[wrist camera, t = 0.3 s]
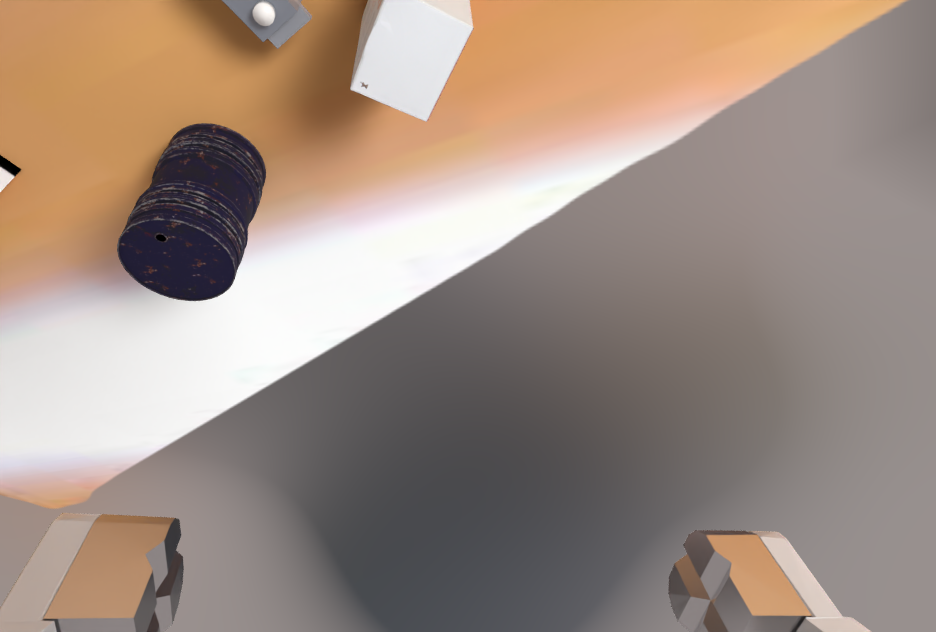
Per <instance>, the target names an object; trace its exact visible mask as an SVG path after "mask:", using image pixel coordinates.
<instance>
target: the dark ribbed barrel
mask: <svg viewBox="0 0 936 632" xmlns="http://www.w3.org/2000/svg"><path fill="white" fill-rule="evenodd" d="M265 178H266V169H265V164H264V161H263V159H262V157H261V155H260V153H259V152H258V150H257V149H256V148H255V146H254V145H253V144H252V143H251V142H250V141H249V140H247V139H246V138H245V137H243V136H242V135H240V134H239V133H237V132H236V131H233V130H231V129H229V128H226V127H223V126H220V125H215V124H206V123H202V124H194V125H190V126H187V127H185V128H183V129H181V130H180V131H178V132H177V133H176V134H175V135H174V136H173V138H172V140H171V142H170V143H169V146H168V147H167V148H166V149H165V151H164V152H163V154H162V156H161V158H160V159H159V161H158V164H157V166H156V168H155V171H154V174H153V177H152V184H151V185H150V187H149V188H148V189H147V190H146V191H145V192H144V193H143V194H142V195H141V196H140V197H139V199H138V201H137V202H136V205H135V207H134V209H133V211H132V212H131V214H130V216H129V218H128V221H127V225H126V227H125V229H124V231H123V232H122V234H121V236H120V238H119V241H118V244H117V252H118V256H119V259H120V261H121V264H122V265H123V267H124V268H125V270H126V271H127V272H128V273H129V274H130V275H131V277H133V278H134V279H135V280H136V281H137V282H139V283H140V284H141V285H143V286H144V287H146V288H148V289H150V290H151V291H153V292H156V293H158V294H160V295H163V296H166V297H169V298H174V299H178V300H185V301H202V300H208V299H212V298H215V297H218V296H220V295H221V294H223V293H225V292H226V291H227V290H228V289H229V288H230V287H231V285H232V284H233V282H234V279H235V276H236V272H237V269H238V267H239V265H240V263H241V261H242V257H243V254H244V250H245V247H246V245H247V240H248V238H247V236H248V226H249V223H250V222H251V221H252V219H253V217H254V215H255V213H256V210H257V207H258V205H259V203H260V199H261V196H262V188H263V186H264V183H265Z"/></svg>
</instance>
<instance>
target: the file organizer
mask: <svg viewBox="0 0 936 632" xmlns="http://www.w3.org/2000/svg"><path fill="white" fill-rule="evenodd" d="M20 170H21V169H20V168H19V167H17V166H16V165H14V164H13V163H11V162H10V161H8V160H7V159H5V158H4V157H2V156H1V155H0V192H1V191H2V190H3V189H4V188H5V187H6V185H7V184H8V183H9V182H10V181H11V180H12V179H13V178H14V177H15V176H16V175H17V174H18V173H19V171H20Z"/></svg>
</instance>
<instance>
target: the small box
mask: <svg viewBox="0 0 936 632" xmlns="http://www.w3.org/2000/svg"><path fill="white" fill-rule="evenodd" d="M473 29H474V28H473V22H472V15H471V8H470V0H368V1H367V4H366V7H365V10H364V13H363V16H362V22H361V28H360V36H359V42H358V47H357V52H356V57H355V63H354V69H353V75H352V81H351V87H350V90H352V91H354V92H357V93H360V94H362V95H364V96H367V97H369V98H371V99H374V100H376V101H378V102H381V103H383V104H385V105H388V106H390V107H392V108H395V109H397V110H400V111H402V112H404V113H407V114H409V115H411V116H414V117H416V118H419V119H421V120H423V121H426V122H427V121H428V120H429V118H430V116H431V114H432V112H433V110H434V108H435V106H436V104H437V102H438V100H439V98H440V96H441V93H442V91H443V89H444V87H445V85H446V83H447V81H448V79H449V77H450V75H451V73H452V71H453V69H454V67H455V65H456V63H457V61H458V59H459V57H460V55H461V53H462V51H463V49H464V47H465V45H466V43H467V41H468V39H469V37H470V35H471V33H472V31H473Z"/></svg>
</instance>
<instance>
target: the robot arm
mask: <svg viewBox="0 0 936 632" xmlns="http://www.w3.org/2000/svg"><path fill="white" fill-rule="evenodd" d="M180 538H181V529H180V521H179V519H177V518H167V517H146V516H127V515H126V516H125V515H107V514H102V515H98V514H75V513H62V514H61V515H60V516H59V517H58V518H56V519H55V520H54V521H53V522H52V523H51V525H50V526H49V528H48V530H47V531H46V533H45V535H44V536H43V538H42V539H41V541H40V543H39V544H38V546H37V548H36V549H35V551H34V553H33V554H32V556H31V557H30V559H29V561H28V562H27V564H26V566H25V567H24V569H23V570H22V572H21V574H20V575H19V577H18V579H17V580H16V582H15V584H14V585H13V587H12V589H11V590H10V592H9V594H8V595H7V597H6V598H5V600H4V602H3V603H2V605H1V606H0V632H164V631H166V630H167V629H168V628H169V627H170V626H171V625H172V624H173V621H174V618H175V614H176V611H177V608H178V604H179V599H180V594H181V589H182V584H183V570H184V566H183V556H182V555H181V554H180V553H178V552H177V551H176V549H177V546H178V543H179V540H180ZM684 548H685V550H686V553H687V555H686V556H684V557H683V558H681V559H680V560H679V561H677V562H676V563H675V564H674V566H673V568H672V571H671V573H670V575H669V589H668V591H669V592H668V594H669V598H670V602H671V607H672V609H673V612H674V614H675V616H676V618H677V621H678V622H679V623H680V624H681V625H682V626H683V627H685V628H686V629H687V630H688V631H689V632H871V631H870V630H868V629H867V628H865V627H864V626H863V625H861V624H860V623H858V622H857V621H856V620H854V619H853V618H851V617H842V615H841V614H840V613H839V611H838V610H837V608H836V607H835V605H834V604H833V603H832V601H831V600H830V598H829V597H828V596H827V594H826V593H825V592H824V590H823V589H822V587H821V586H820V585H819V583H818V582H817V580H816V579H815V578H814V576H813V575H812V573H811V572H810V571H809V569H808V568H807V566H806V565H805V564H804V562H803V561H802V560H801V558H800V557H799V555H798V554H797V553H796V551H795V550H794V548H793V547H792V546H791V544H790V543H789V541H788V540H787V539H786V538H785V537H784V536H783V535H781V534H780V533H778V532H770V531H769V532H767V531H734V530H695V531H694V532H692V533H691V534H689V535H688V537H687V539H686V541H685V543H684Z"/></svg>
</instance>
